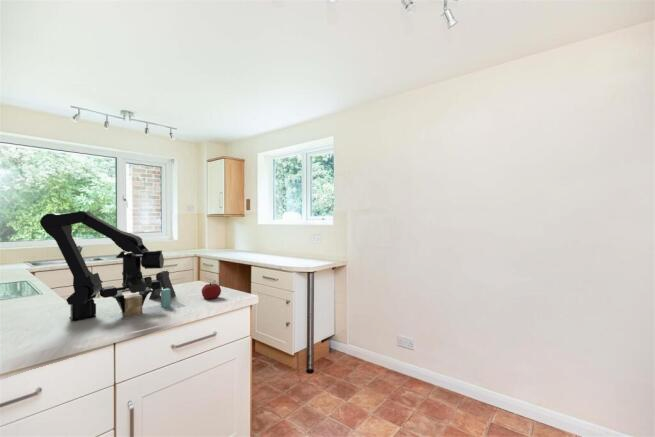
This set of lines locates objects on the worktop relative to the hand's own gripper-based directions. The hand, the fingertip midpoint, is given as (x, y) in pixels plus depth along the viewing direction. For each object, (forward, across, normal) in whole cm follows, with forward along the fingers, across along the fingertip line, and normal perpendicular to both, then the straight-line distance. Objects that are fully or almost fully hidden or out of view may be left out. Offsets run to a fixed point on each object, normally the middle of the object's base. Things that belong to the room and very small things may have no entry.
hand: (131, 311), depth 114 cm
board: (+1, +6, 0) cm, 6 cm away
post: (+1, +12, 0) cm, 12 cm away
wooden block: (+1, 0, 0) cm, 1 cm away
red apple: (+2, +31, -1) cm, 31 cm away
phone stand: (+2, +17, +16) cm, 23 cm away
